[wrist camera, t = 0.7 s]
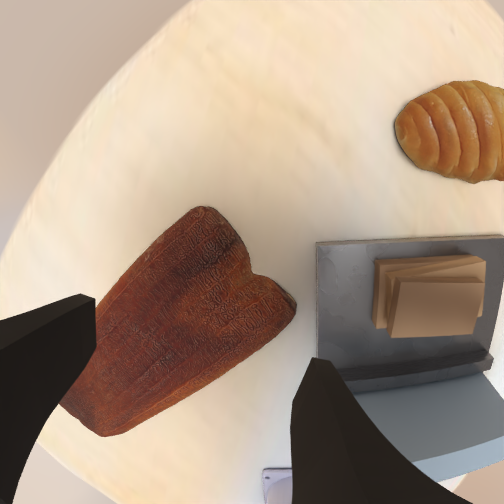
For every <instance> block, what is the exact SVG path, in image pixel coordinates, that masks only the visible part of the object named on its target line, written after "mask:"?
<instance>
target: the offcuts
mask: <svg viewBox="0 0 504 504" xmlns="http://www.w3.org/2000/svg"><path fill="white" fill-rule="evenodd" d="M485 271H486V261H485V260H483V259H481V258H479V257H477V256H473V255H471V254H467V255H451V256H435V257H418V258H400V259H382V260H375V273H374V295H373V311H372V322H373V324H374V326H375V328H376V329H381V328H386V330H387V332H388V334H389V335H390V337H391V338H406V337H431V336H450V335H465V334H473V331H474V327H475V323H476V320H477V317H480V316H482V311H483V301H484V288H485Z"/></svg>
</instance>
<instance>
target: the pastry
mask: <svg viewBox="0 0 504 504" xmlns="http://www.w3.org/2000/svg"><path fill="white" fill-rule="evenodd" d="M395 130H396V136H397V140H398V142H399V144H400V146H401V147H402V149H403V150H404V152H405V153H406V155H407V156H408V157H409V158H410V159H411V160H412V161H413V162H414V163H415V165H416V166H417V167H418V168H420V169H422V170H427V171H433V172H436V173H438V174H440V175H442V176H444V177H448V178H458V179H462V180H464V181H467V182H468V183H471V184H476V183H478V182H480V181H486V180H493V179H495V180H499V181H504V89H502V88H499V87H493V86H490V85H488V84H487V83H484V82H480V81H476V80H473V81H463V82H462V81H453V82H450V83H449V84H445V85H442V86H441V87H439V88H437V89H434V90H432V91H430V92H428V93H426V94H423V95H421V96H419V97H418V98H415V99H414V100H411V101H410V102H409V103H408V104H407V106H406V107H405V108H404V109H403V110H402V111H401V112H400V113H399V115H398V116H397V118H396V121H395Z"/></svg>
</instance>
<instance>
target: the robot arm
mask: <svg viewBox="0 0 504 504" xmlns="http://www.w3.org/2000/svg"><path fill="white" fill-rule="evenodd" d="M96 347H97V341H96V310H95V299H94V298H92V297H89V296H86V295H83V294H77V295H74V296H70V297H67V298H64V299H62V300H59V301H56V302H53V303H51V304H48V305H45V306H42V307H40V308H37V309H34V310H31V311H29V312H25V313H22V314H19V315H16V316H13V317H10V318H7V319H4V320H0V504H12V503H13V499H14V495H15V492H16V489H17V486H18V482H19V479H20V477H21V474H22V472H23V469H24V466H25V464H26V461H27V459H28V457H29V454H30V452H31V450H32V448H33V446H34V444H35V441H36V439H37V438H38V436H39V434H40V432H41V430H42V428H43V426H44V424H45V422H46V421H47V419H48V418H49V416H50V415H51V413H52V412H53V410H54V409H55V407H56V406H57V405H58V403H59V402H60V401H61V399H62V398H63V397H64V395H65V394H66V393H67V391H68V390H69V389H70V388H71V386H72V385H73V384H74V382H75V381H76V380H77V378H78V377H79V376H80V374H81V373H82V372H83V370H84V369H85V367H86V365H87V364H88V362H89V360H90V358H91V357H92V355H93V353H94V351H95V349H96ZM290 435H291V459H292V469H287V470H269V469H267V470H264V471H263V472H262V478H263V488H264V498H265V504H473V503H471V502H469V501H467V500H465V499H463V498H461V497H459V496H457V495H455V494H454V493H452V492H450V491H449V490H447V489H446V488H444V487H443V486H441V485H440V484H438V483H437V482H435V481H434V480H432V479H431V478H430V477H428V476H427V475H426V474H424V473H423V472H422V471H421V470H419V469H418V468H417V467H416V466H415V465H414V464H412V463H411V462H410V461H409V460H408V459H407V458H406V457H405V456H403V455H402V454H401V453H400V452H399V451H398V450H397V449H396V448H395V447H394V446H393V445H392V443H391V442H390V441H389V440H388V439H387V438H386V437H385V436H384V435H383V434H382V433H381V431H380V430H379V429H378V428H377V427H376V425H375V424H374V423H373V422H372V420H371V419H370V418H369V417H368V415H367V414H366V413H365V411H364V410H363V409H362V407H361V406H360V404H359V403H358V401H357V400H356V399H355V397H354V396H353V394H352V393H351V391H350V390H349V388H348V387H347V385H346V384H345V382H344V381H343V379H342V378H341V376H340V374H339V373H338V371H337V370H336V368H335V367H334V365H333V364H332V362H331V361H330V360H324V359H319V358H314V357H312V359H311V361H310V363H309V366H308V368H307V370H306V372H305V375H304V377H303V379H302V382H301V384H300V386H299V388H298V390H297V393H296V395H295V397H294V399H293V402H292V412H291V424H290Z"/></svg>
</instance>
